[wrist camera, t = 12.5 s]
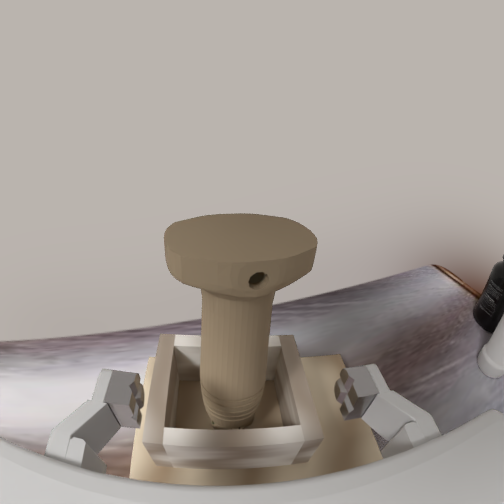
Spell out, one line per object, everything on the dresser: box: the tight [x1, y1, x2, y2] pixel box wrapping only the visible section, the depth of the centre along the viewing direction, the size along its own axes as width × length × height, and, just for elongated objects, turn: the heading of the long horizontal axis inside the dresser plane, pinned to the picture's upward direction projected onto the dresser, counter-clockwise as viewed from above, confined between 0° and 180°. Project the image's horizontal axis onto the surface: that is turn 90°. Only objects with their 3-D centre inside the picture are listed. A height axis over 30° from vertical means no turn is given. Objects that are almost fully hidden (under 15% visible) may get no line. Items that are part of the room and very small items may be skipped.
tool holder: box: [130, 334, 383, 486], centre depth 19 cm, size 18×12×6 cm, turn 96°
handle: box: [164, 214, 317, 430], centre depth 15 cm, size 5×6×15 cm
